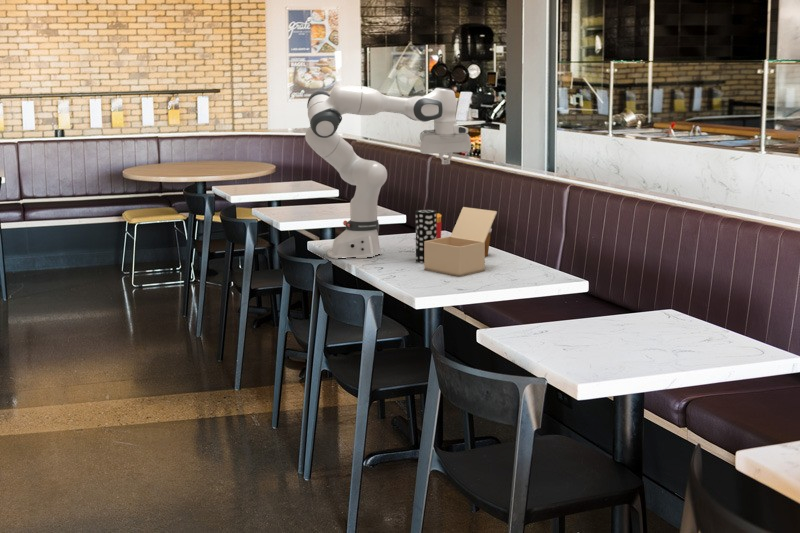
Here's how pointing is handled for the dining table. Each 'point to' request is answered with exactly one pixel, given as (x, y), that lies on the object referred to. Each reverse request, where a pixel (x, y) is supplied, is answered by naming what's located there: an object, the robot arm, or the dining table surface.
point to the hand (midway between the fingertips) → (445, 164)
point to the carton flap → (473, 224)
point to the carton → (454, 256)
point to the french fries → (438, 226)
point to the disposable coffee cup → (487, 243)
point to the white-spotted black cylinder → (425, 230)
